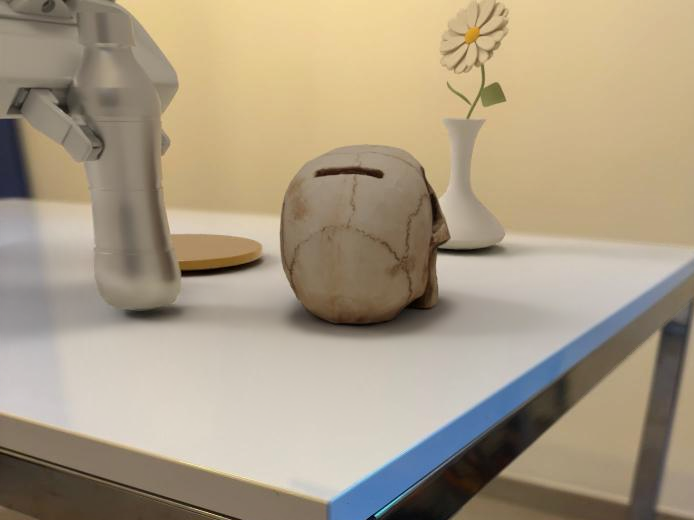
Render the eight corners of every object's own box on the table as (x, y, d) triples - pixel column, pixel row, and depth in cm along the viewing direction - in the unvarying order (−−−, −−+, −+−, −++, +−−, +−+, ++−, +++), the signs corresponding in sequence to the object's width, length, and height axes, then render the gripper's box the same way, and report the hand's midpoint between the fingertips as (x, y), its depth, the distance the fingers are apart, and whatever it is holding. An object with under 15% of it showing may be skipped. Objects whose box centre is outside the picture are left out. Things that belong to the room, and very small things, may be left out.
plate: (65, 271, 77) (63, 255, 76) (143, 244, 91) (141, 231, 91) (230, 280, 74) (229, 264, 73) (282, 251, 89) (282, 237, 88)
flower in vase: (392, 242, 95) (397, 0, 84) (472, 238, 100) (488, 6, 88) (444, 261, 85) (458, -13, 73) (531, 255, 89) (557, -5, 78)
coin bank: (400, 276, 76) (407, 125, 68) (494, 340, 63) (515, 162, 55) (244, 295, 70) (232, 131, 63) (313, 369, 57) (308, 175, 50)
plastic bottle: (152, 322, 59) (114, 8, 50) (80, 312, 61) (30, 10, 52) (200, 304, 64) (173, 18, 55) (132, 295, 66) (96, 19, 57)
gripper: (-122, -68, 46) (31, 122, 47) (122, -23, 62) (232, 118, 63) (-147, 23, 50) (-6, 196, 51) (89, 43, 66) (193, 174, 67)
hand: (128, 153), depth 57 cm, fingers closed on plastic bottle, 6 cm apart
